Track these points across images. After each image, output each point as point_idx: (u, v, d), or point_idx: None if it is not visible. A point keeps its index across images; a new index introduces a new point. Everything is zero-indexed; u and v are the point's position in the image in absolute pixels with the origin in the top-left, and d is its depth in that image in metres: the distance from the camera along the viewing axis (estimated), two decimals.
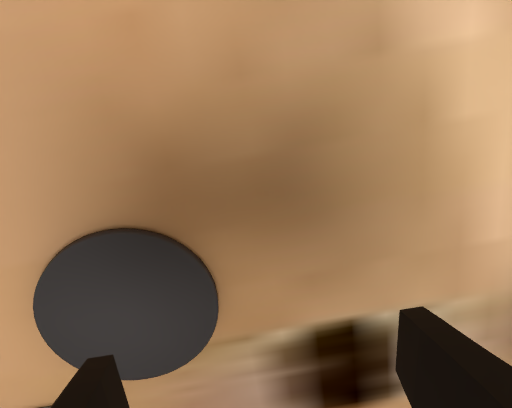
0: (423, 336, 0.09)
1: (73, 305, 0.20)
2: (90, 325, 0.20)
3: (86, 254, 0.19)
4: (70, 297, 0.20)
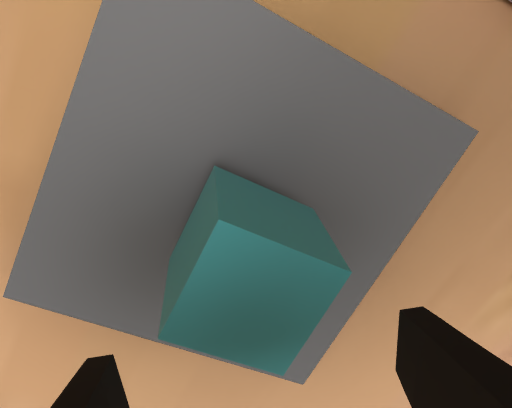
0: (423, 336, 0.09)
1: None
2: None
3: None
4: None
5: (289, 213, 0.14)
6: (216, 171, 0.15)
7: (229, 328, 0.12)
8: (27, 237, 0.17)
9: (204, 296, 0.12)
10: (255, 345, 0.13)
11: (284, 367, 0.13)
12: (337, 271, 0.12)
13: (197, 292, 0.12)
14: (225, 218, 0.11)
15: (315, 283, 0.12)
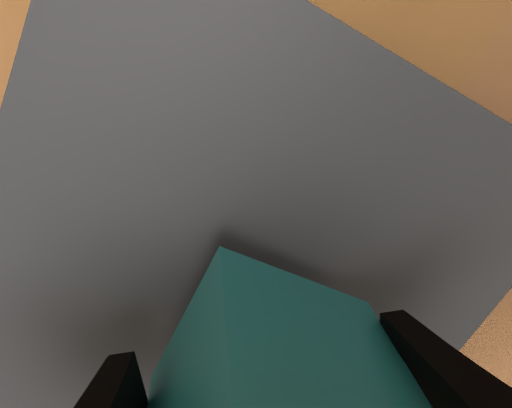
0: (401, 340, 0.09)
1: None
2: None
3: None
4: None
5: (343, 334, 0.09)
6: (223, 260, 0.09)
7: None
8: None
9: None
10: None
11: None
12: None
13: None
14: None
15: None
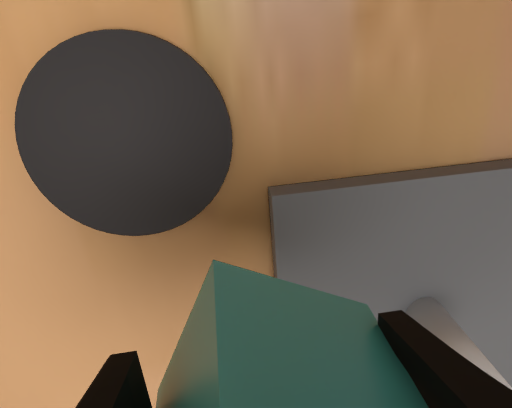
0: (399, 340, 0.09)
1: (117, 198, 0.18)
2: (145, 185, 0.18)
3: (47, 177, 0.18)
4: (106, 200, 0.18)
5: (339, 340, 0.09)
6: (216, 274, 0.09)
7: None
8: None
9: None
10: None
11: None
12: None
13: None
14: None
15: None
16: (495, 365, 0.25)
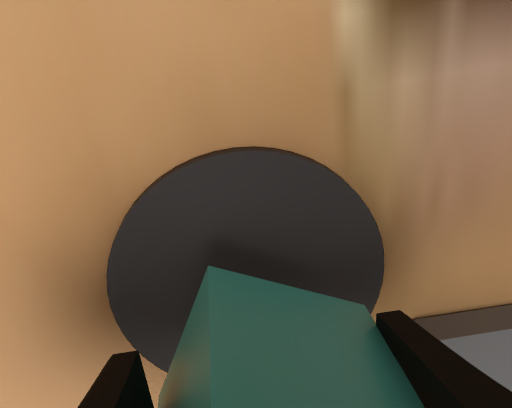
0: (397, 340, 0.09)
1: None
2: None
3: (143, 331, 0.13)
4: None
5: (334, 342, 0.09)
6: (211, 280, 0.09)
7: None
8: None
9: None
10: None
11: None
12: None
13: None
14: None
15: None
16: None
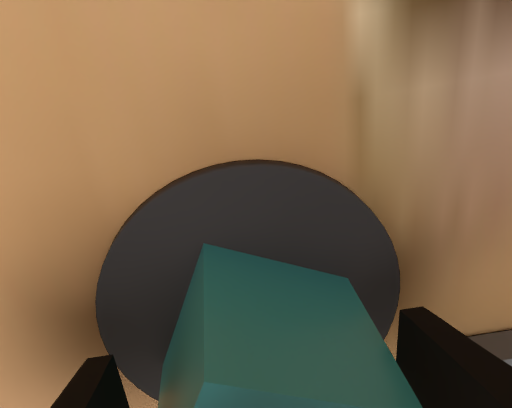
0: (423, 336, 0.09)
1: None
2: None
3: (137, 359, 0.12)
4: None
5: (317, 307, 0.10)
6: (205, 255, 0.10)
7: None
8: None
9: None
10: None
11: None
12: None
13: None
14: (216, 372, 0.07)
15: None
16: None
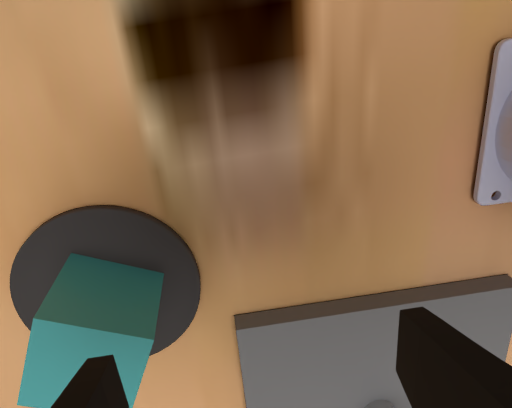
0: (423, 336, 0.09)
1: None
2: None
3: None
4: None
5: (126, 289, 0.18)
6: (68, 260, 0.18)
7: None
8: None
9: (42, 371, 0.16)
10: None
11: None
12: (142, 340, 0.16)
13: (36, 369, 0.16)
14: (41, 315, 0.15)
15: (127, 351, 0.16)
16: None
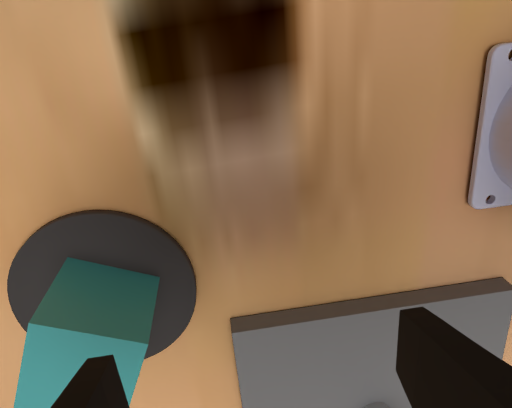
0: (423, 336, 0.09)
1: None
2: None
3: None
4: None
5: (122, 293, 0.18)
6: (64, 264, 0.19)
7: None
8: None
9: (38, 375, 0.16)
10: None
11: None
12: (137, 344, 0.16)
13: (31, 373, 0.16)
14: (37, 320, 0.15)
15: (122, 355, 0.16)
16: None
